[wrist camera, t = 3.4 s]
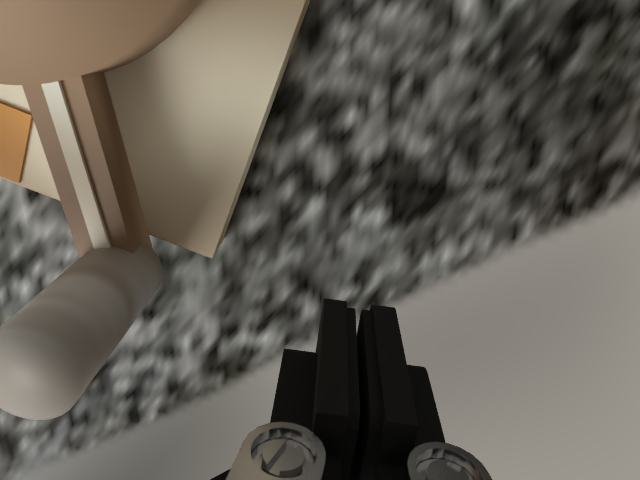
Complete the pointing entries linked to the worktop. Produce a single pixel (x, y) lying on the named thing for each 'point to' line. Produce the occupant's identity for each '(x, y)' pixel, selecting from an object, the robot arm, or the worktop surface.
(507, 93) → the worktop surface
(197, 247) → the base board
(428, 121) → the worktop surface
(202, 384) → the worktop surface
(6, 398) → the walnut dial
